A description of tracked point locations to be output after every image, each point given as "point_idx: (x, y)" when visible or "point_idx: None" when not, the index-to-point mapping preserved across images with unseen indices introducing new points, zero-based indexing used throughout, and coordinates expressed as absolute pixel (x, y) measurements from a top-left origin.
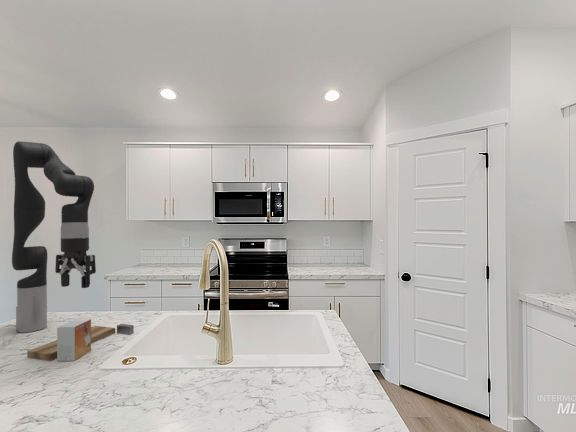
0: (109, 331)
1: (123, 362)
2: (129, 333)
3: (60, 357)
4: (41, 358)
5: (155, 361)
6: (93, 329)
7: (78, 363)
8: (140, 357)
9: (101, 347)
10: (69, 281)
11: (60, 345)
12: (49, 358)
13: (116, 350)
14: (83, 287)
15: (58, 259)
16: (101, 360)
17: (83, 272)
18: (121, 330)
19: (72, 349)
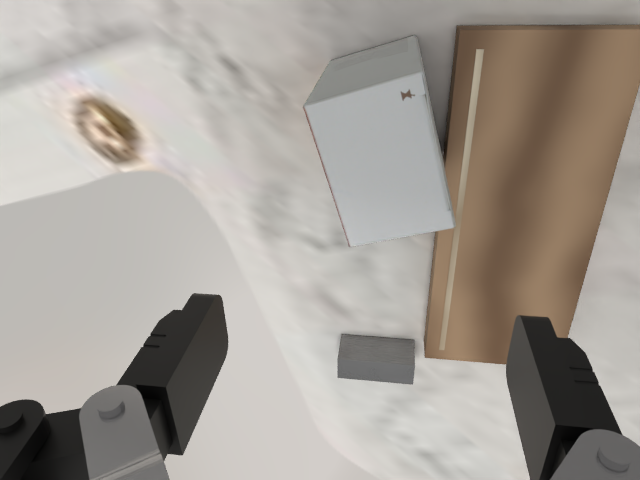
0: (427, 328)
1: (113, 110)
2: (341, 338)
3: (398, 42)
4: (525, 26)
5: (11, 149)
6: None
7: (290, 47)
8: (95, 164)
9: None
10: (514, 410)
11: (396, 52)
12: (462, 26)
13: (250, 197)
14: (195, 297)
15: None
16: (218, 101)
17: (85, 430)
18: (386, 348)
19: (333, 69)
